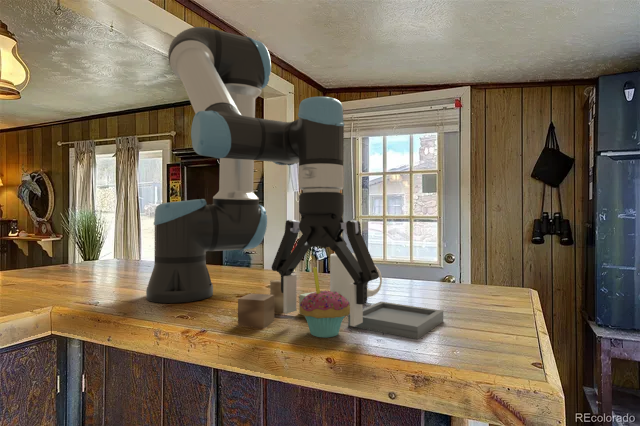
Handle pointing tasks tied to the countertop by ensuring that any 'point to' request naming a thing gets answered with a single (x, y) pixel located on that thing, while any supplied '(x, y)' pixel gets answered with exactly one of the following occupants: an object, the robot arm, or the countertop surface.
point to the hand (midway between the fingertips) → (321, 317)
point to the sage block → (301, 297)
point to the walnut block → (255, 310)
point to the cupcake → (324, 310)
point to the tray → (400, 319)
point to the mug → (345, 278)
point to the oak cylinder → (277, 296)
